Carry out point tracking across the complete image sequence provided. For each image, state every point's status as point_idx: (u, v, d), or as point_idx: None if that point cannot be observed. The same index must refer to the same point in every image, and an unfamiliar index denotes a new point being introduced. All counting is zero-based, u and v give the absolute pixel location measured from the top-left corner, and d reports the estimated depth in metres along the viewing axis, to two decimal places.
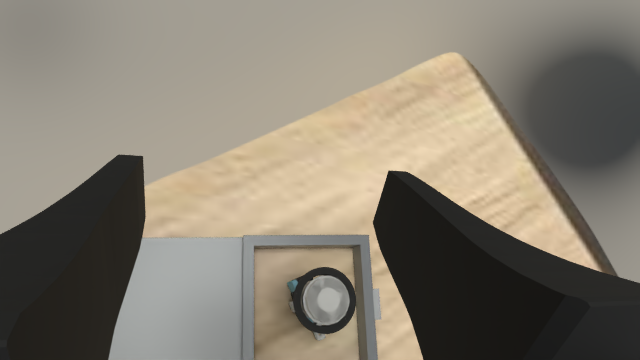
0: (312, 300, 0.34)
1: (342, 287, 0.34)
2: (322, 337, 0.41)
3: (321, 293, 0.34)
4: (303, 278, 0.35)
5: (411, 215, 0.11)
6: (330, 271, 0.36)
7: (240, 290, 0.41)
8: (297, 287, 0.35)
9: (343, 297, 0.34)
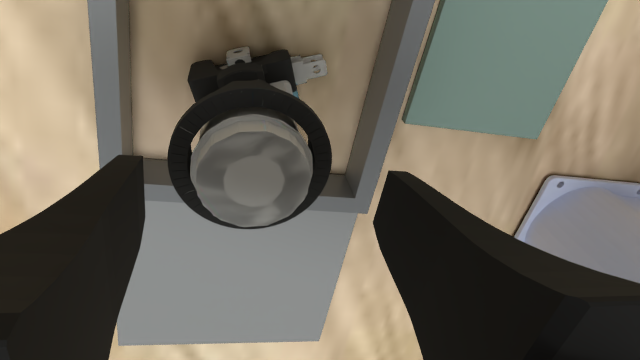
0: (249, 216, 0.14)
1: (227, 144, 0.12)
2: (323, 66, 0.20)
3: (235, 196, 0.13)
4: (193, 207, 0.14)
5: (411, 215, 0.11)
6: (180, 144, 0.13)
7: None
8: (214, 220, 0.15)
9: (254, 145, 0.12)
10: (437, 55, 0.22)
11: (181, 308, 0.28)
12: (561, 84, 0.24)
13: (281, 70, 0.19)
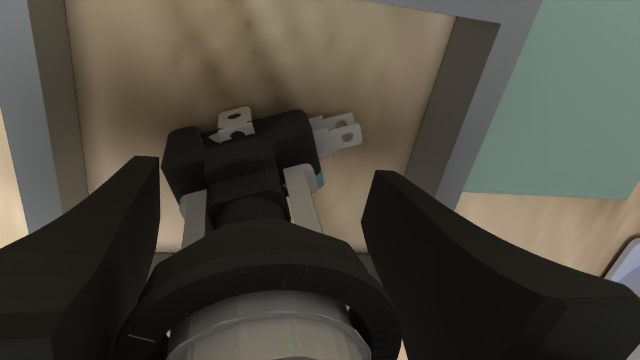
0: None
1: None
2: (357, 132, 0.14)
3: None
4: None
5: (396, 215, 0.11)
6: (131, 358, 0.07)
7: None
8: None
9: None
10: (509, 105, 0.16)
11: None
12: None
13: (299, 148, 0.13)
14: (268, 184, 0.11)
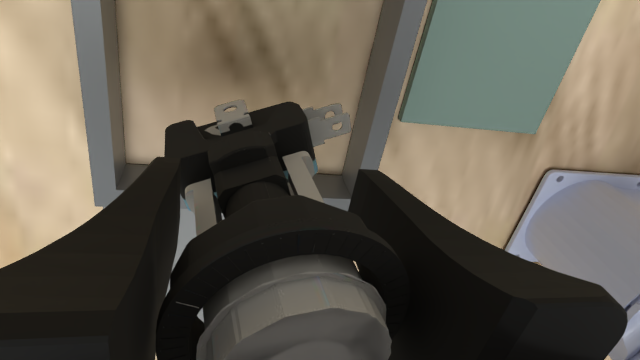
0: None
1: (264, 336, 0.07)
2: (346, 121, 0.15)
3: None
4: None
5: (378, 214, 0.11)
6: (176, 324, 0.08)
7: None
8: None
9: (309, 329, 0.07)
10: (431, 52, 0.22)
11: None
12: (559, 78, 0.24)
13: (296, 136, 0.14)
14: (274, 170, 0.12)
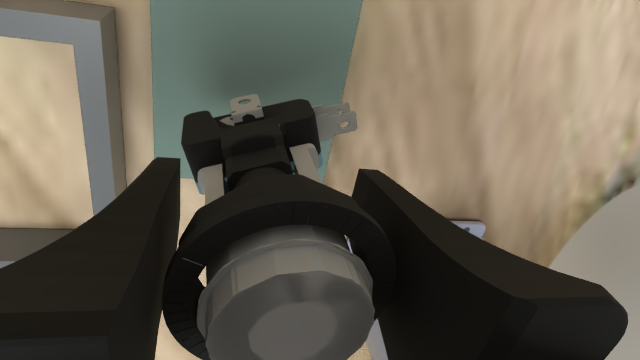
0: None
1: (258, 292, 0.08)
2: (352, 119, 0.16)
3: (265, 352, 0.09)
4: (198, 352, 0.10)
5: (378, 214, 0.11)
6: (182, 280, 0.09)
7: None
8: None
9: (298, 289, 0.08)
10: (165, 106, 0.20)
11: None
12: None
13: (303, 130, 0.15)
14: (280, 157, 0.13)
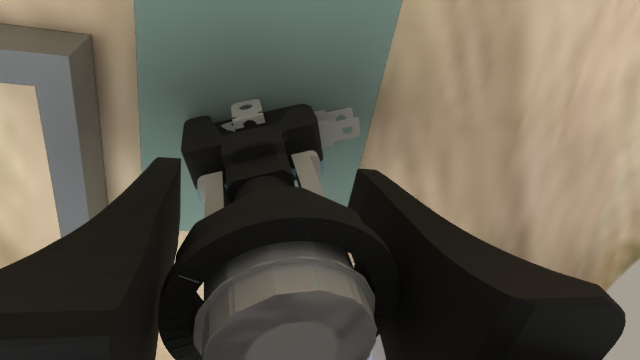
0: None
1: (256, 312, 0.08)
2: (356, 125, 0.16)
3: None
4: None
5: (376, 214, 0.11)
6: (178, 297, 0.08)
7: None
8: None
9: (297, 309, 0.08)
10: (155, 150, 0.16)
11: None
12: (352, 171, 0.19)
13: (305, 136, 0.14)
14: (281, 165, 0.13)
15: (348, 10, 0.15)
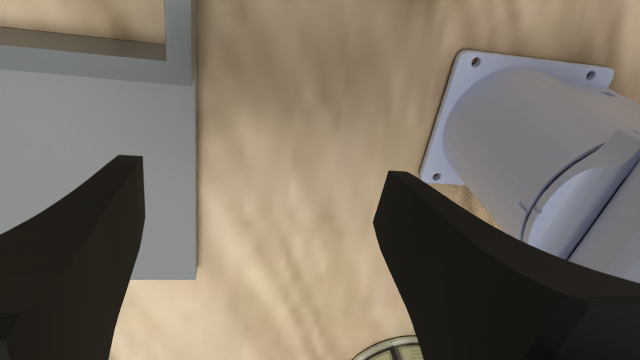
0: None
1: None
2: None
3: None
4: None
5: (411, 215, 0.11)
6: None
7: None
8: None
9: None
10: None
11: None
12: None
13: None
14: None
15: None
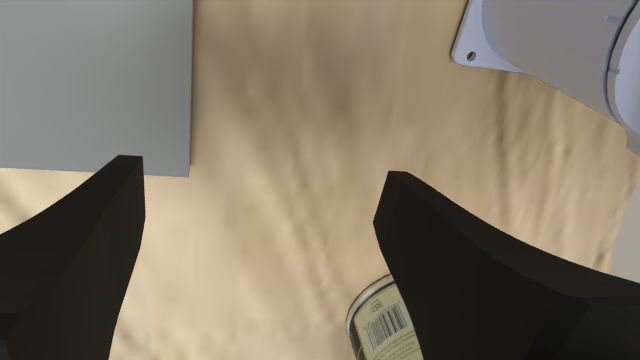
0: None
1: None
2: None
3: None
4: None
5: (411, 215, 0.11)
6: None
7: None
8: None
9: None
10: None
11: None
12: None
13: None
14: None
15: None
